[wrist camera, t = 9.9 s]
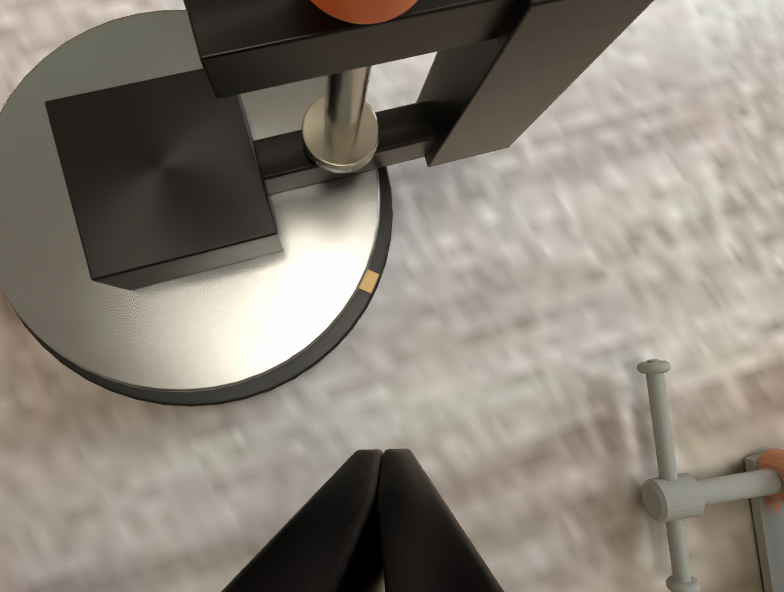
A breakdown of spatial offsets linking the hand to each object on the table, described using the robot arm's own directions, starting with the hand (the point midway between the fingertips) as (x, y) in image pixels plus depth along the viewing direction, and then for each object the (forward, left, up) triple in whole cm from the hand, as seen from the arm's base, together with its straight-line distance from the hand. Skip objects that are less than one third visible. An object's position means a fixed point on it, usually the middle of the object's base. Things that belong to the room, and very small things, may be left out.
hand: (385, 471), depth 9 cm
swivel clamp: (+5, +5, -7) cm, 10 cm away
